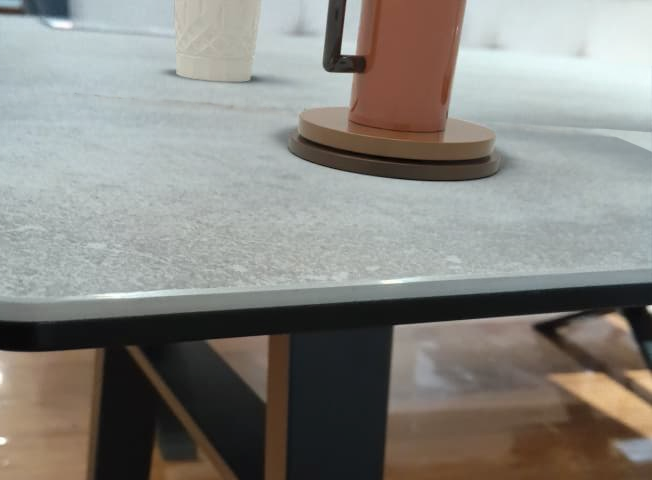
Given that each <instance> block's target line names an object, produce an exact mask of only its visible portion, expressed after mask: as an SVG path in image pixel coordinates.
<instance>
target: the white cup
mask: <svg viewBox="0 0 652 480" xmlns="http://www.w3.org/2000/svg"><path fill="white" fill-rule="evenodd" d="M261 6H262V0H173V10H174V11H173V14H174V16H173V18H174V44H175V48H176V51H177V52H176V54H175V72H176V73H175V74H176V75H178V76H180V77H182V78H187V79H193V80H201V81H208V82H222V83H223V82H224V83H230V82H231V83H241V82H249V81H251V80H252V70H253V61H254V59H253V58H254V57H253V56H254V55H255V53H256V48H257V47H256V46H257V45H256V44H257V40H258V39H257V38H258V29H259V23H260V17H261Z"/></svg>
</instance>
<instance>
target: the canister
mask: <svg viewBox="0 0 652 480" xmlns="http://www.w3.org/2000/svg"><path fill="white" fill-rule="evenodd" d="M347 1H348V0H328V2H327V12H326V13H327V14H326V22H325V23H326V24H325V32H324V40H323V41H324V42H323V52H322V63H321V65H322V68H323V70H324V71H325V72H327V73H331V74H352V79H351V86H350V87H351V88H350V97H349V106H327V107H314V108H309V109H306V110H303V111H301V112H300V113H299V114H298V115H299V116H298V124H297V128H298V133H299V134H300V135H301V136H303V137H304V138H306V139H308V140H311V141H313V142H316V143H319V144H322V145H326V146H330V147H333V148H338V149H342V150H347V151H352V152H358V153H364V154H370V155H377V156H385V157H394V158H404V159H417V160H445V161H451V160H470V159H478V158H482V157H486V156H489V155H490V154H492V152H493V149H494V150H495V144H496V138H497V134H496V132H495V131H493V130H492V129H490V128H488V127H486V126H484V125H481V124H477V123H474V122H470V121H467V120H463V119H458V118H454V117H449V113H450V108H451V107H450V106H451V100H452V96H453V95H452V94H453V90H454V89H453V88H454V82H455V75H456V71H457V70H456V69H457V65H458V58H459V54H460V53H459V51H460V46H461V40H462V34H463V27H464V21H465V15H466V10H467V9H466V8H467V3H468V0H361V2H360V12H359V20H358V28H357V38H356V44H355V46H356V47H355V53H354V54H342V46H343V38H344V29H345V20H346V12H347V11H346V10H347Z"/></svg>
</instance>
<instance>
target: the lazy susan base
mask: <svg viewBox="0 0 652 480" xmlns="http://www.w3.org/2000/svg"><path fill="white" fill-rule="evenodd" d="M287 143H288V144H287V146H288V150H289V151H290V152H291V153H292V154H293V155H296V156H297V157H299V158H302V159H304V160H305V161H309V162H312V163H315V164H318V165H320V166H321V165H322V166H324V167H328V168H333V169H338V170H341V171H346V172H353V173H357V174H363V175H369V176H377V177H378V176H379V177H385V178H395V179H405V180H419V181H465V180H474V179H481V178H486V177H490V176H493V175H494V174H496V173H497V172H498V170H499V168H500V162H501V154H500V153H499V152H498V151H497V150H496V149H495V148H494V149H493V152H492V154H490V155H489V156H486V157H482V158H478V159H470V160H451V161H445V160H417V159H404V158H394V157H385V156H377V155H370V154H364V153H358V152H352V151H347V150H342V149H338V148H333V147H330V146H326V145H322V144H319V143H316V142H313V141H311V140H308V139H306V138H304V137H303V136H301V135H300V134H299V133H298V127H297V128H295V129H293V130H292V131H290V132H289V134H288V142H287Z"/></svg>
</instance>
